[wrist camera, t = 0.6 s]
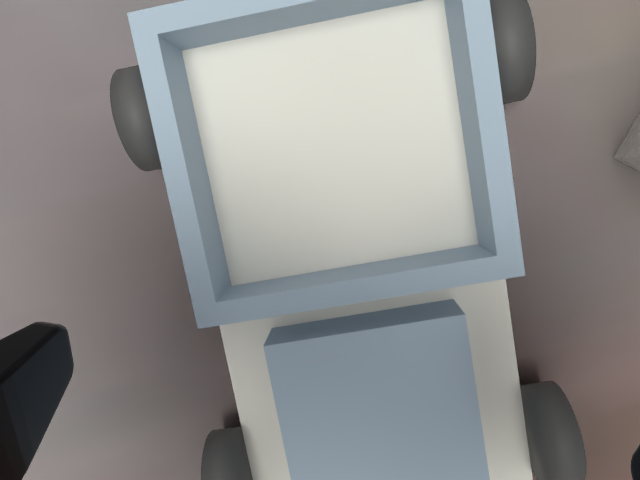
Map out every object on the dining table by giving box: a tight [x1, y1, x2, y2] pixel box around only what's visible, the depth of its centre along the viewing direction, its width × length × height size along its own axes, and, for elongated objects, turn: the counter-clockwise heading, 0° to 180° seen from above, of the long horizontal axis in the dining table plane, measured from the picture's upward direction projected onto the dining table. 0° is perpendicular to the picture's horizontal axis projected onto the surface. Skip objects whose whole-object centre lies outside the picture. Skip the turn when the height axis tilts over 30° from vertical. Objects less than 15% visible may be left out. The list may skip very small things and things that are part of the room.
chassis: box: [110, 0, 586, 480], centre depth 19 cm, size 20×13×4 cm
